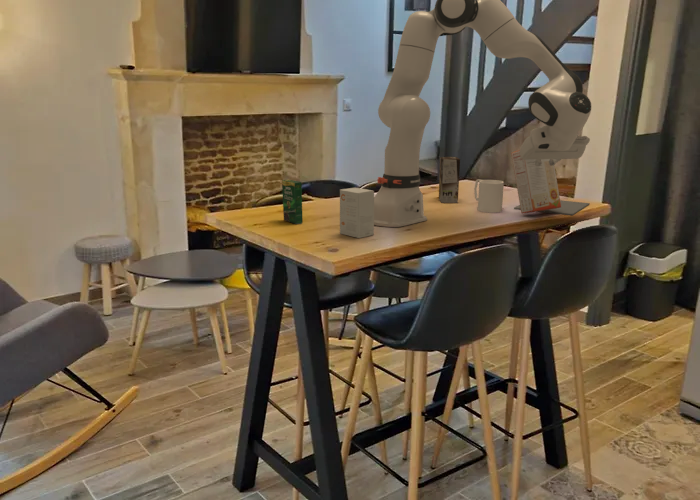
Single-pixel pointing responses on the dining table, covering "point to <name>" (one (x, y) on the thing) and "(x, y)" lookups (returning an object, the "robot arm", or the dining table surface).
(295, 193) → the coffee box
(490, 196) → the cup
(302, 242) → the dining table surface
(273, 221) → the dining table surface
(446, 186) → the coffee box
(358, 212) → the small box
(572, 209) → the slate mat
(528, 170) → the cracker box
